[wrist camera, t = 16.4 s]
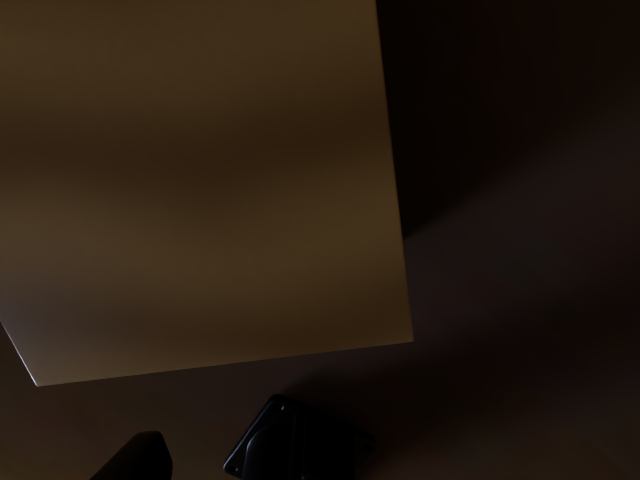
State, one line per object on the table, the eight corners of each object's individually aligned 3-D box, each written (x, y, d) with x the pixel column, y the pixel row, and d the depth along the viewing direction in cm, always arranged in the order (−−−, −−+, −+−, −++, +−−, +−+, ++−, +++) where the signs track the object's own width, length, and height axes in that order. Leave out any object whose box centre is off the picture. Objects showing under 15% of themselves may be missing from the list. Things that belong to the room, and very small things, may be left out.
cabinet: (-45, -92, 17) (-259, -142, 11) (340, -182, 15) (342, -297, 9) (114, 286, 23) (36, 387, 17) (392, 247, 22) (414, 341, 16)
